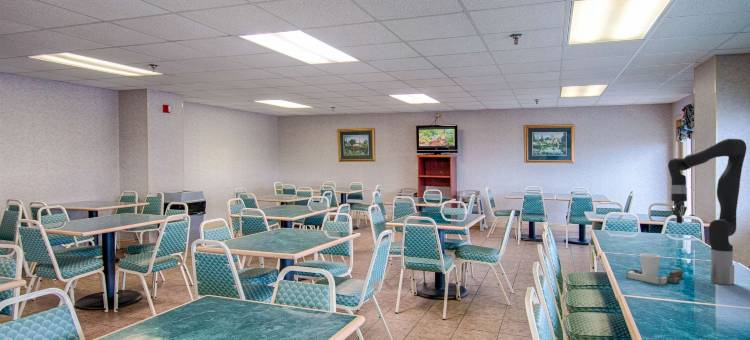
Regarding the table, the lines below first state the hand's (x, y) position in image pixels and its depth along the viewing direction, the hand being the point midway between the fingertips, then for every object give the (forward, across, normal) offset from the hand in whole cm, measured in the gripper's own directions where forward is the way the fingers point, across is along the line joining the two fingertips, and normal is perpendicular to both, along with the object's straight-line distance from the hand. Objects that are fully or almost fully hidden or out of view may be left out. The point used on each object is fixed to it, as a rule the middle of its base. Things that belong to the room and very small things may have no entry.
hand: (679, 223), depth 270 cm
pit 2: (+29, -27, -9) cm, 41 cm away
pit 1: (+28, -28, +10) cm, 41 cm away
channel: (+28, -18, +1) cm, 34 cm away
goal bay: (+29, -35, 0) cm, 45 cm away
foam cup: (+29, -31, +1) cm, 42 cm away
